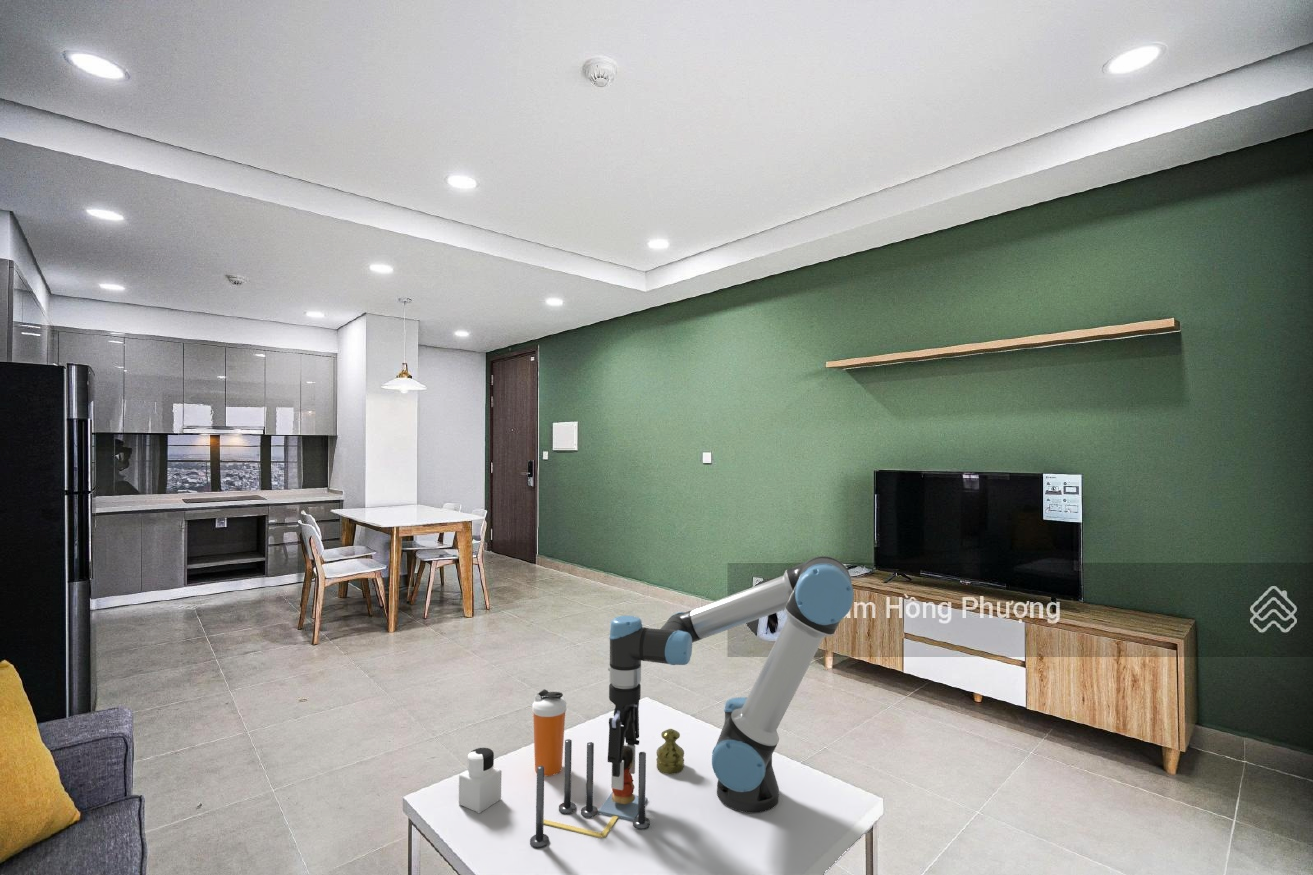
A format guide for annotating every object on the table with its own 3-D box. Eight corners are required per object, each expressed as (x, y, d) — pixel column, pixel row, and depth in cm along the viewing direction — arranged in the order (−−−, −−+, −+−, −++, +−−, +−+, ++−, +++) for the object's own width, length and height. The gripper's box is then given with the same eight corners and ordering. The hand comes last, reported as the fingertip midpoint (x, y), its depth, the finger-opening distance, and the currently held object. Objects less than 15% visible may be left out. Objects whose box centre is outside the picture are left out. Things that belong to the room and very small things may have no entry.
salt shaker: (677, 777, 161) (677, 738, 161) (651, 770, 164) (652, 732, 164) (688, 764, 167) (688, 727, 167) (663, 758, 171) (663, 721, 171)
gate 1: (578, 806, 147) (579, 738, 148) (543, 850, 131) (544, 773, 131) (563, 802, 149) (564, 735, 149) (526, 845, 133) (527, 770, 133)
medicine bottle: (480, 790, 154) (481, 741, 154) (501, 799, 150) (502, 749, 150) (458, 804, 147) (458, 753, 148) (479, 814, 144) (480, 762, 144)
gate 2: (652, 821, 142) (653, 751, 142) (646, 831, 138) (647, 759, 138) (585, 806, 147) (586, 738, 148) (577, 815, 143) (578, 746, 144)
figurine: (637, 804, 145) (638, 752, 145) (614, 808, 144) (615, 755, 144) (631, 790, 151) (632, 740, 152) (608, 793, 150) (609, 743, 150)
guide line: (618, 817, 143) (618, 816, 143) (604, 838, 135) (604, 837, 135) (558, 804, 148) (558, 802, 148) (540, 823, 140) (540, 822, 140)
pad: (647, 800, 150) (647, 797, 150) (634, 821, 142) (634, 818, 142) (613, 793, 153) (613, 790, 153) (598, 813, 145) (598, 810, 145)
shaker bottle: (558, 780, 159) (559, 701, 159) (525, 775, 161) (527, 698, 161) (570, 762, 167) (571, 688, 168) (539, 759, 169) (540, 685, 170)
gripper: (625, 667, 158) (624, 757, 158) (593, 696, 140) (591, 799, 139) (653, 671, 156) (652, 763, 156) (624, 701, 137) (622, 806, 137)
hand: (623, 780), depth 147 cm, fingers closed on figurine, 7 cm apart
